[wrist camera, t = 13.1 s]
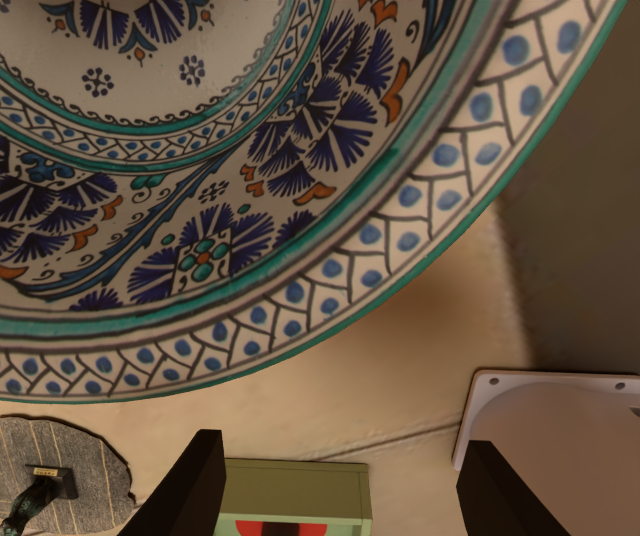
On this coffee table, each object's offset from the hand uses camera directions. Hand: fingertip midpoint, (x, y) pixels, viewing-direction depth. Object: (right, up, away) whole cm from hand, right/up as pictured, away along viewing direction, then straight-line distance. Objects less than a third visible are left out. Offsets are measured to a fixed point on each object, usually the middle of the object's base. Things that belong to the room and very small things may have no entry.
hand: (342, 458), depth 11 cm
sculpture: (-20, -9, +15) cm, 26 cm away
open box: (-3, -12, +16) cm, 20 cm away
